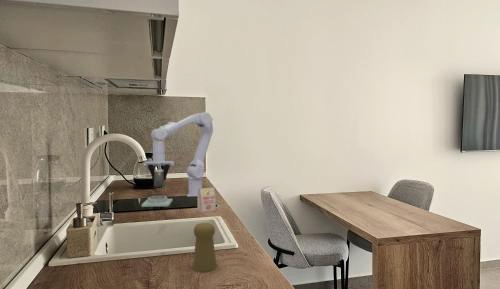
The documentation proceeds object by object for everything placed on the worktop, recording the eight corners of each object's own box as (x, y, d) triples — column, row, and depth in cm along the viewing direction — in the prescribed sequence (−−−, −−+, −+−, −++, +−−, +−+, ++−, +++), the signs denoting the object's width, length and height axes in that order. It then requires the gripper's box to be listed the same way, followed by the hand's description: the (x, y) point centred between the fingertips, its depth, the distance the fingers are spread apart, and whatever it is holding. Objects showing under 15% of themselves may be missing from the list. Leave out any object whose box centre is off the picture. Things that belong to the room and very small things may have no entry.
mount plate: (147, 201, 168) (147, 199, 168) (172, 200, 169) (172, 198, 168) (141, 206, 156) (141, 204, 156) (168, 206, 157) (168, 203, 157)
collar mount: (150, 199, 166) (150, 195, 166) (168, 199, 167) (168, 195, 167) (146, 203, 158) (146, 199, 157) (165, 203, 158) (165, 198, 158)
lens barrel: (155, 185, 174) (155, 169, 174) (165, 185, 174) (165, 169, 174) (153, 186, 169) (152, 170, 169) (163, 186, 169) (163, 170, 169)
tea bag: (197, 211, 146) (197, 188, 145) (212, 209, 149) (212, 186, 149) (200, 213, 143) (200, 189, 142) (215, 211, 146) (215, 187, 145)
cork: (190, 264, 88) (189, 222, 87) (212, 261, 90) (212, 219, 90) (196, 273, 82) (195, 228, 82) (220, 269, 85) (219, 225, 84)
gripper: (141, 153, 167) (142, 181, 167) (172, 153, 167) (172, 180, 168) (145, 152, 174) (146, 179, 174) (174, 152, 174) (174, 178, 175)
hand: (159, 179), depth 172 cm, fingers closed on lens barrel, 5 cm apart
